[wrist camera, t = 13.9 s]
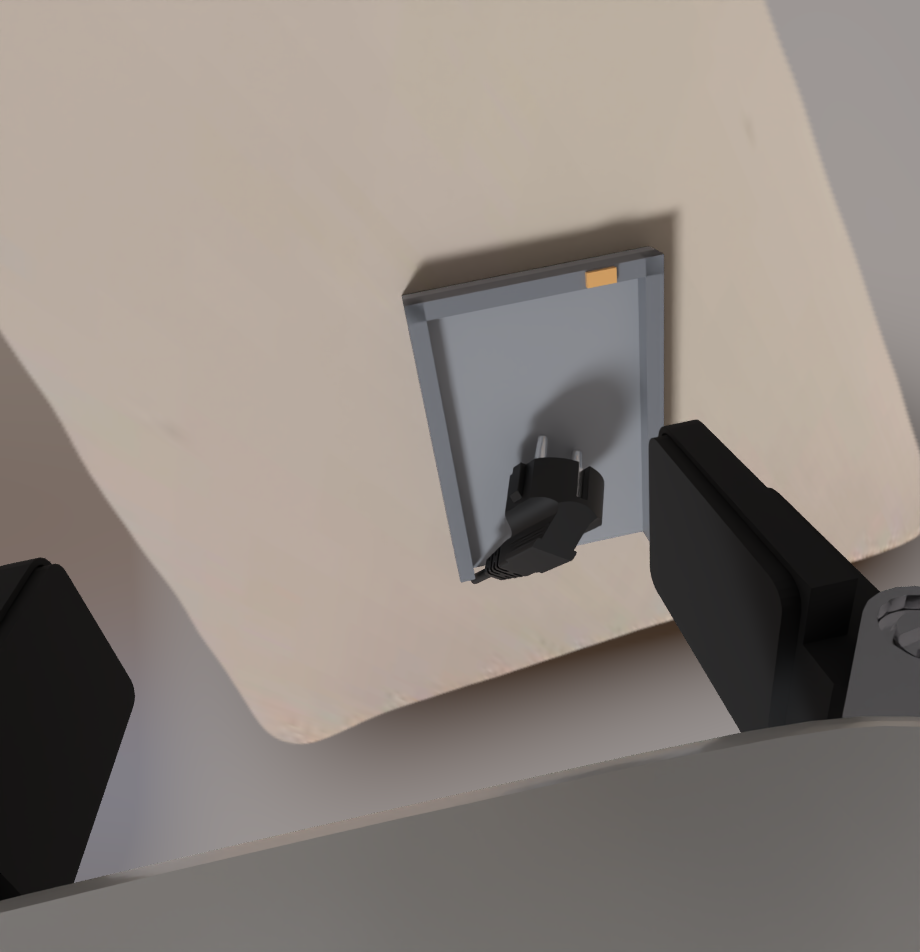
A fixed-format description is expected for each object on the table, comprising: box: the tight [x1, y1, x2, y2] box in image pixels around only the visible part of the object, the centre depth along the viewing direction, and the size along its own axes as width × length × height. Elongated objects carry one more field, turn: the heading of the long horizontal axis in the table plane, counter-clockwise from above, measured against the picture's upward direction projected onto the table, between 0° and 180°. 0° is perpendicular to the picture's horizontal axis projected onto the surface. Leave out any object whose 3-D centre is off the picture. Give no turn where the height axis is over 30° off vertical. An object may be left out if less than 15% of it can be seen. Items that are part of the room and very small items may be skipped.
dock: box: [402, 246, 664, 582], centre depth 41 cm, size 19×14×2 cm
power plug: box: [471, 434, 604, 584], centre depth 43 cm, size 6×8×12 cm
